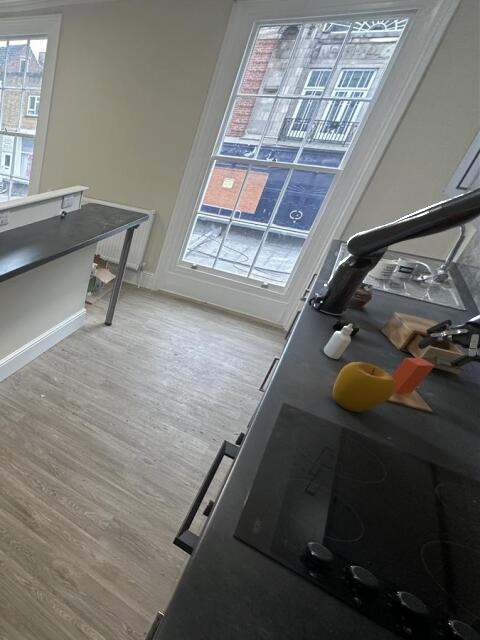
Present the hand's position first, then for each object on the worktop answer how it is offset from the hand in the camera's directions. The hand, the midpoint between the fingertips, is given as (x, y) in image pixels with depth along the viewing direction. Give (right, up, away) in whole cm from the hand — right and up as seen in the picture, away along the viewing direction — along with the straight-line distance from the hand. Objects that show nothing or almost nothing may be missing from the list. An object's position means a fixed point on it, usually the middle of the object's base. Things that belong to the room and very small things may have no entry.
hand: (435, 355), depth 113 cm
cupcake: (+32, +17, +58) cm, 68 cm away
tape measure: (+7, +5, +35) cm, 36 cm away
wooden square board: (-6, -11, +5) cm, 14 cm away
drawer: (+22, -4, +21) cm, 31 cm away
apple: (-27, -14, -2) cm, 31 cm away
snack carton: (-5, -10, +6) cm, 13 cm away
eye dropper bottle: (-11, -2, +20) cm, 23 cm away
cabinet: (+28, +1, +31) cm, 42 cm away
